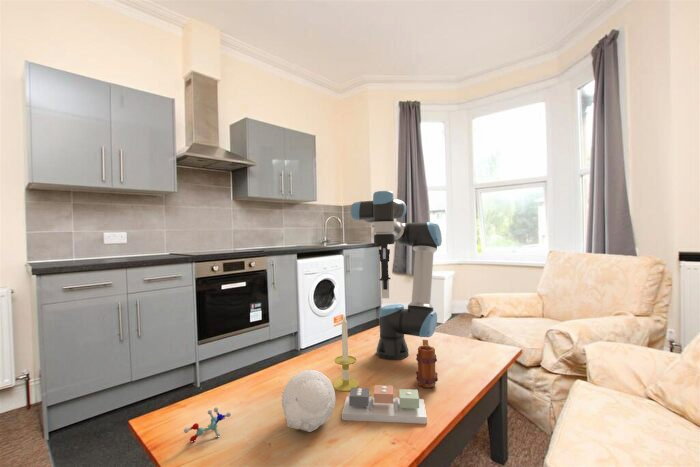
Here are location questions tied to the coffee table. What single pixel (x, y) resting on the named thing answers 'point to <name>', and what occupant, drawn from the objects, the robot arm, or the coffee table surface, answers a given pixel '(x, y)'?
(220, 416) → the molecular model
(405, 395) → the tile sage
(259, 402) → the coffee table surface
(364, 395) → the tile charcoal
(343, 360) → the candle
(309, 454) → the coffee table surface
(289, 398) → the white rounded lump
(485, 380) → the coffee table surface
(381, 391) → the tile terracotta
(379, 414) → the board
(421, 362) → the mug
